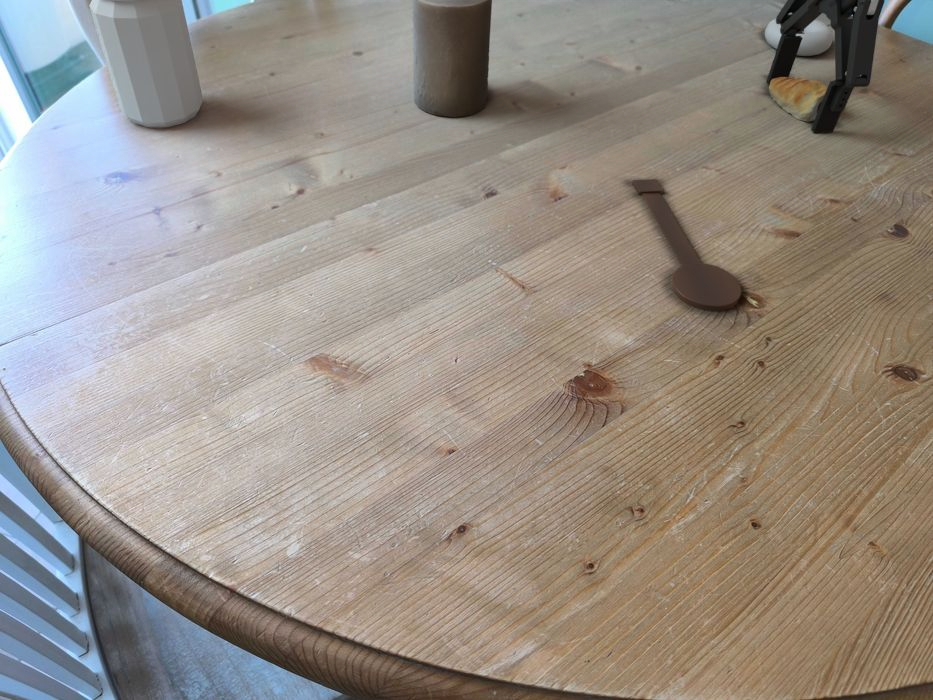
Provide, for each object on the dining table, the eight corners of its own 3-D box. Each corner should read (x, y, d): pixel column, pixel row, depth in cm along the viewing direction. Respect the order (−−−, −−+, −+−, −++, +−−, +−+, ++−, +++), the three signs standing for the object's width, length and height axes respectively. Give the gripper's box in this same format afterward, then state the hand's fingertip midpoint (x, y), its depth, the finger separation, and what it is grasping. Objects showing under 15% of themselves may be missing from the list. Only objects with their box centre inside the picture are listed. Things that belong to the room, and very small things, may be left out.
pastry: (753, 95, 103) (762, 68, 101) (788, 87, 106) (798, 60, 103) (805, 125, 97) (816, 97, 95) (841, 115, 100) (852, 88, 97)
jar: (123, 135, 89) (73, -26, 76) (122, 99, 95) (76, -56, 83) (208, 125, 91) (174, -33, 79) (201, 90, 98) (169, -61, 85)
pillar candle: (499, 110, 97) (508, -12, 87) (431, 123, 94) (431, -2, 83) (466, 79, 103) (471, -38, 93) (401, 91, 100) (398, -29, 90)
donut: (773, 29, 121) (752, 47, 115) (780, 7, 119) (759, 24, 113) (835, 45, 118) (817, 65, 111) (844, 23, 115) (826, 41, 109)
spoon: (669, 189, 85) (672, 176, 84) (747, 316, 70) (752, 303, 68) (614, 191, 84) (617, 179, 83) (682, 321, 69) (686, 308, 68)
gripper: (785, -98, 95) (735, 66, 109) (891, -30, 77) (815, 154, 92) (839, -97, 96) (783, 65, 110) (957, -30, 78) (871, 152, 93)
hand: (797, 106), depth 101 cm, fingers open, 13 cm apart
